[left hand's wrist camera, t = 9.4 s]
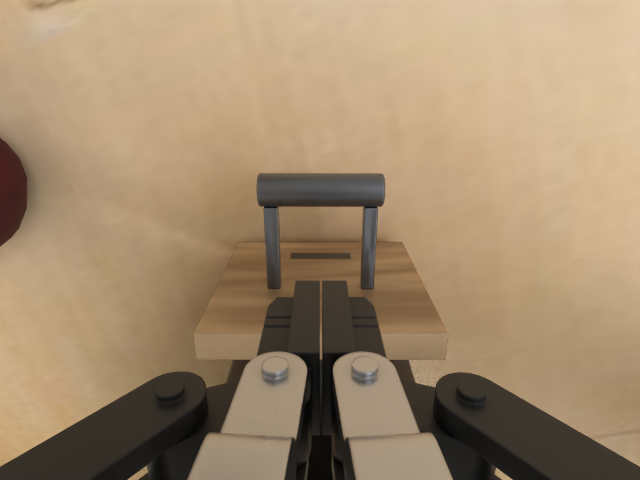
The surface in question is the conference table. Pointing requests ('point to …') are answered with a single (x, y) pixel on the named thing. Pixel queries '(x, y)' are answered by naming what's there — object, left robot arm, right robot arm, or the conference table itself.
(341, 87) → the conference table surface
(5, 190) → the potato
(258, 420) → the left robot arm
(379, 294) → the drawer
